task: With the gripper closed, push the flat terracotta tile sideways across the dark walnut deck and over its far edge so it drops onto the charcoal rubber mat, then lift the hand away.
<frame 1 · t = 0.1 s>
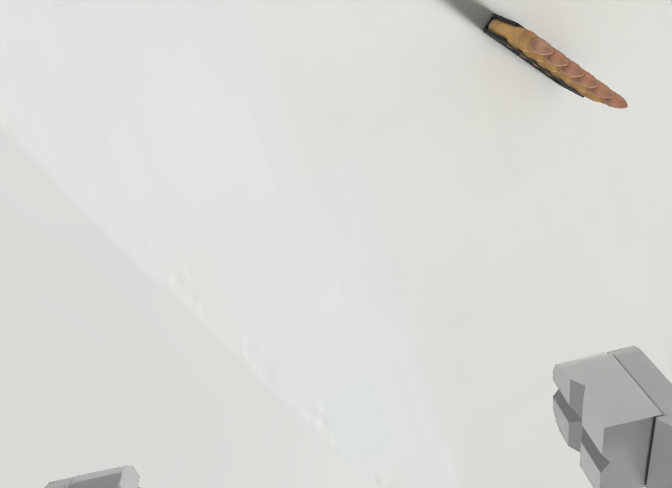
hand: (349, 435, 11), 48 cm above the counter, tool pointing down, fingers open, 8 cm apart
ammunition clip: (527, 50, 56), on the counter
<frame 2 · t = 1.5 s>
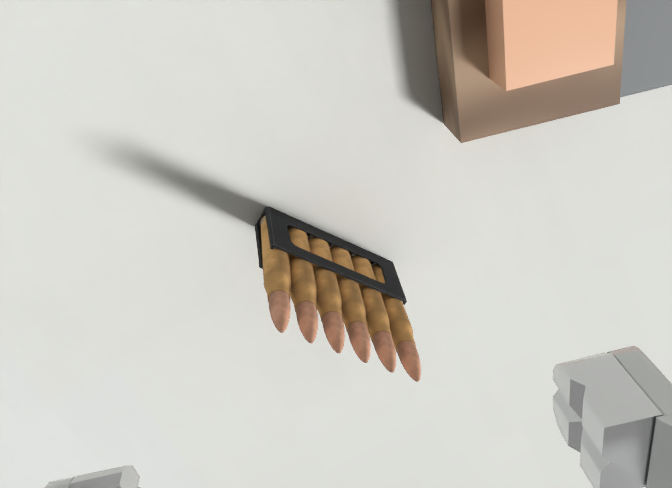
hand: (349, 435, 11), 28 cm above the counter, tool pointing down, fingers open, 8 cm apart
ammunition clip: (326, 243, 41), on the counter
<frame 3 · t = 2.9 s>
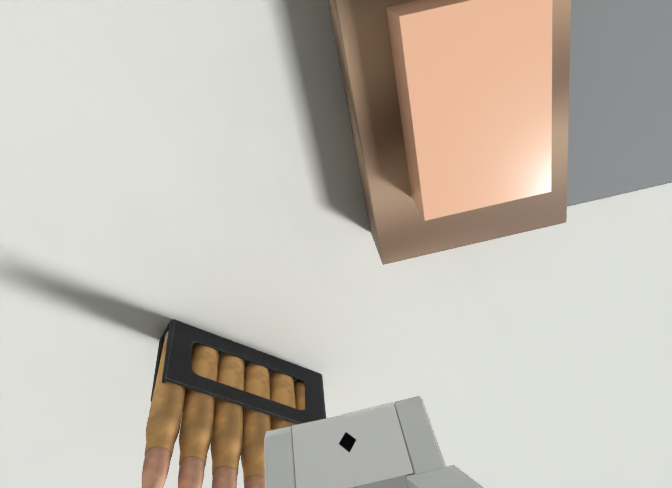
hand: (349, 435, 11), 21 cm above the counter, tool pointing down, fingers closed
ammunition clip: (244, 356, 37), on the counter
deck: (441, 78, 29), on the counter
mat: (640, 33, 29), on the counter
tile: (472, 104, 25), point 5 cm above the counter, touching deck
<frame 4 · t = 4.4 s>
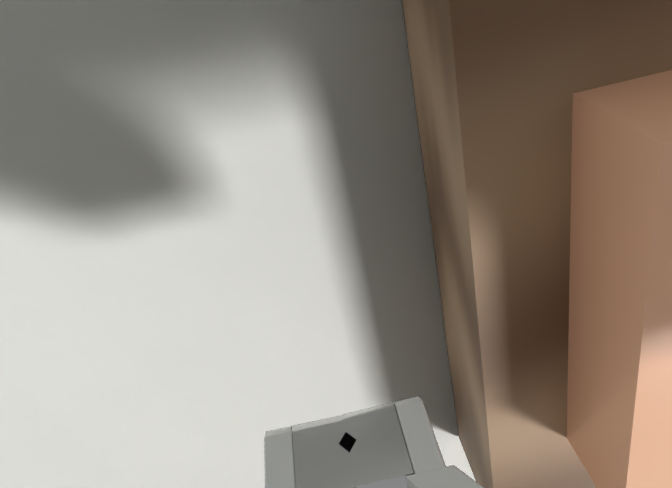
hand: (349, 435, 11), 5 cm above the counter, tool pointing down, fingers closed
deck: (615, 195, 15), on the counter
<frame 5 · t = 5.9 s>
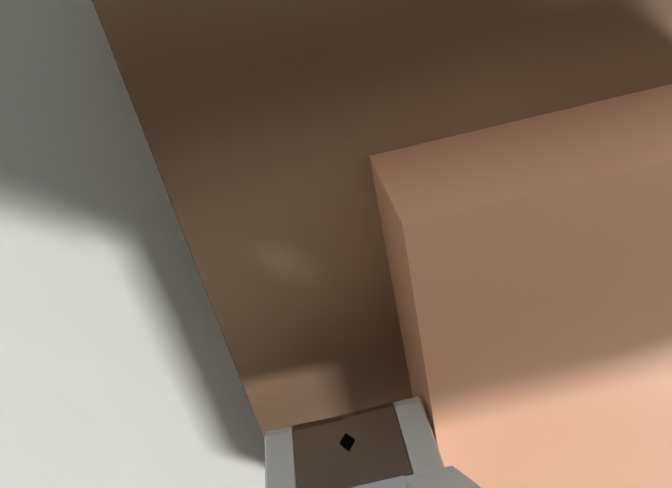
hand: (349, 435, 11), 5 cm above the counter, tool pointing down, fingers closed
deck: (430, 251, 15), on the counter
tile: (570, 357, 11), point 5 cm above the counter, touching deck, gripper
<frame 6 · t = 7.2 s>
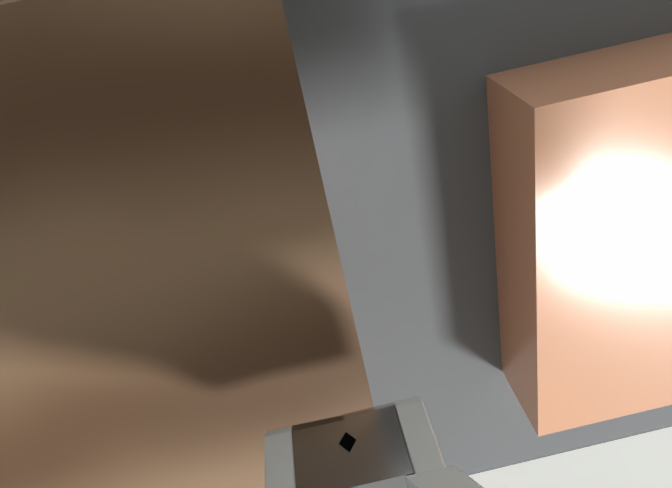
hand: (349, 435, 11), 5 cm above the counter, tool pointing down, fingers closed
deck: (157, 316, 15), on the counter
mat: (542, 225, 15), on the counter
tile: (634, 243, 14), point 2 cm above the counter, tilted 180°, touching mat
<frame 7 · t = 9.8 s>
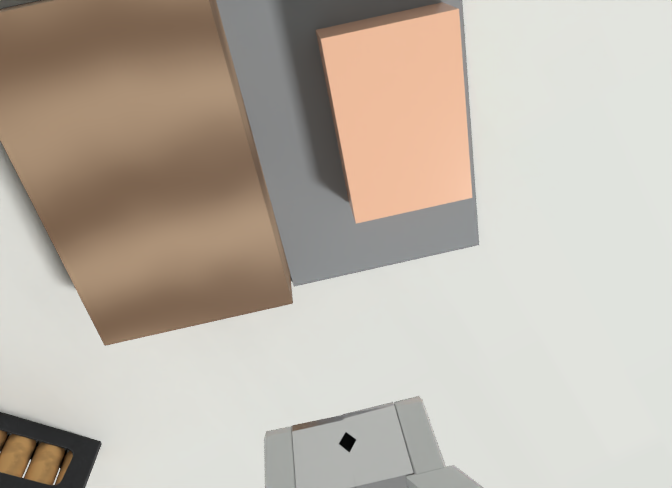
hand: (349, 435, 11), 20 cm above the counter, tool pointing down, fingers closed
ammunition clip: (14, 424, 36), on the counter
deck: (157, 158, 29), on the counter
mat: (360, 114, 29), on the counter
tile: (397, 117, 27), point 2 cm above the counter, tilted 180°, touching mat
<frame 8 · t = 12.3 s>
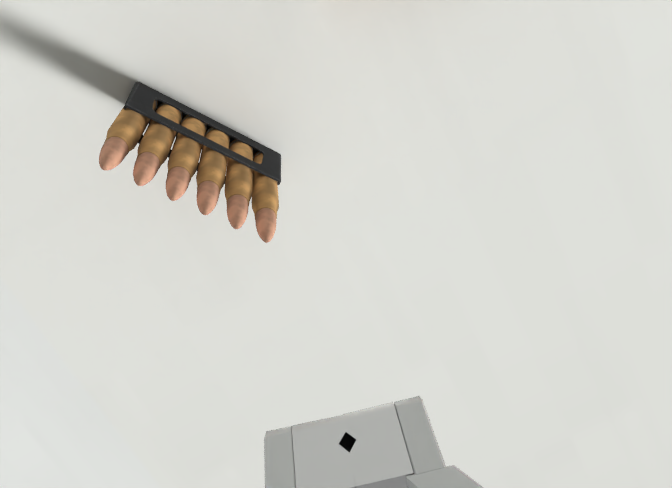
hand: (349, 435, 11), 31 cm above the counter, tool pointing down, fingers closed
ammunition clip: (206, 130, 39), on the counter
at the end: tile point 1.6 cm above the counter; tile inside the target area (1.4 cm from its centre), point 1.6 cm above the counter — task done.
